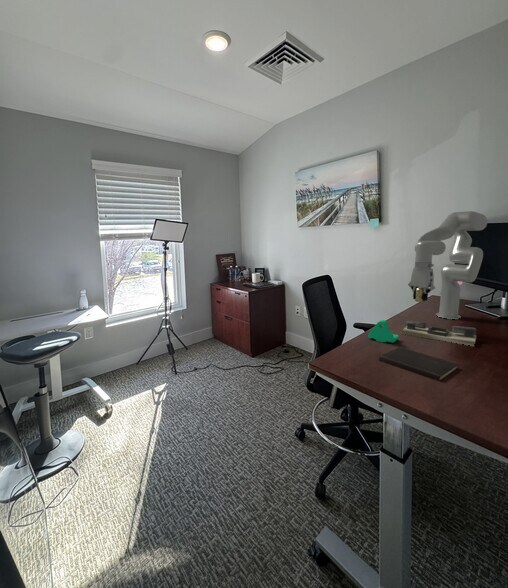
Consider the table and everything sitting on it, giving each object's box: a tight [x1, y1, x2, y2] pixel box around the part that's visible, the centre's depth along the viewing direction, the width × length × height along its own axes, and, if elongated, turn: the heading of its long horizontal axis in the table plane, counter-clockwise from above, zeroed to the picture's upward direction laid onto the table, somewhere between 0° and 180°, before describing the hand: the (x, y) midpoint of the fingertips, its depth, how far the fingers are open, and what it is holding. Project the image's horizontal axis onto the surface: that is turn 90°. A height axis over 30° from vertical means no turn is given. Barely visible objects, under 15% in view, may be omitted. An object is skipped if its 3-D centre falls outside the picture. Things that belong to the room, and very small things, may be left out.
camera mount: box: [367, 319, 399, 344], centre depth 145 cm, size 12×8×10 cm, turn 48°
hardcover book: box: [378, 346, 459, 382], centre depth 119 cm, size 16×23×2 cm
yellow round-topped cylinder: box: [414, 287, 425, 303], centre depth 160 cm, size 5×4×7 cm
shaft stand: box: [401, 319, 477, 347], centre depth 148 cm, size 11×30×6 cm, turn 50°
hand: (420, 299), depth 160 cm, fingers closed on yellow round-topped cylinder, 4 cm apart
